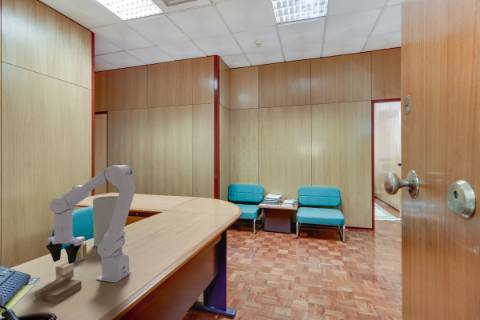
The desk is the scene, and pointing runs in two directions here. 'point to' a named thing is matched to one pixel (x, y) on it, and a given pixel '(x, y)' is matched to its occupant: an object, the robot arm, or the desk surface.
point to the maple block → (64, 271)
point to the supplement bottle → (82, 250)
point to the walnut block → (58, 290)
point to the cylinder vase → (102, 216)
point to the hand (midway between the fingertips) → (64, 261)
